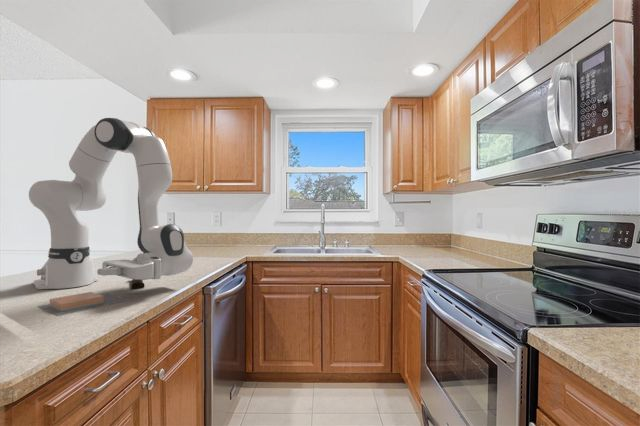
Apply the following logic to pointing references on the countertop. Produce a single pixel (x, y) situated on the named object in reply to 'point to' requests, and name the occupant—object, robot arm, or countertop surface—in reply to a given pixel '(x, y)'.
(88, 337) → the countertop surface
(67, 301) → the tile
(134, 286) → the hand tool
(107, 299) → the board
